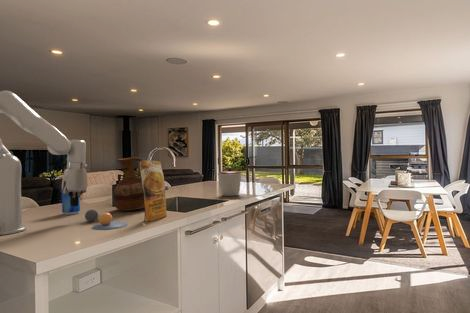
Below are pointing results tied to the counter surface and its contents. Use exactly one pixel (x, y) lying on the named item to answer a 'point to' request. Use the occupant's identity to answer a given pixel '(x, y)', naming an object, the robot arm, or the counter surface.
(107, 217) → the object ball
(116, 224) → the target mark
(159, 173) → the pancake mix bag
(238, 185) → the canister
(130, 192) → the ceramic pitcher
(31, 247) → the counter surface
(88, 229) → the counter surface
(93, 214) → the gray ball
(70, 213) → the blue carton
